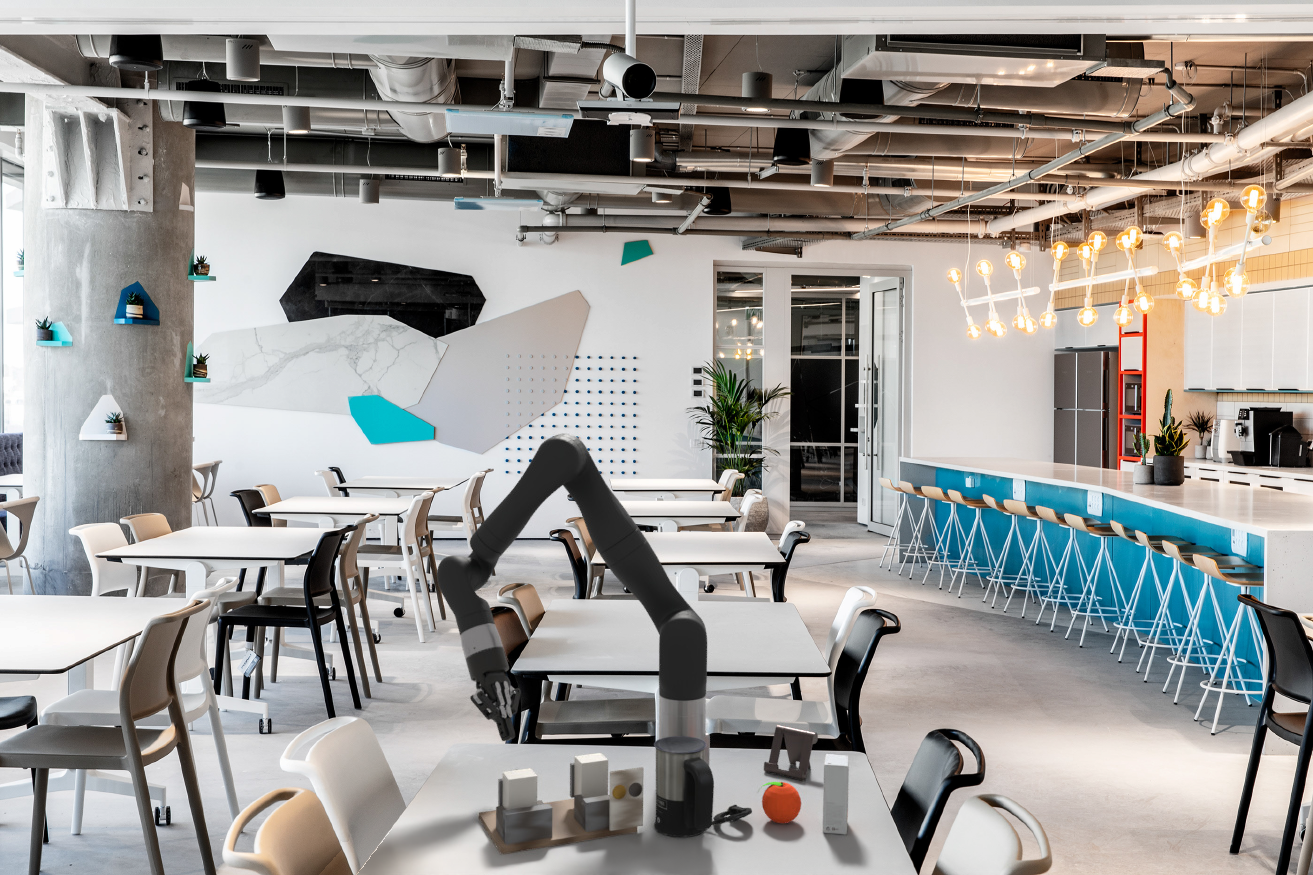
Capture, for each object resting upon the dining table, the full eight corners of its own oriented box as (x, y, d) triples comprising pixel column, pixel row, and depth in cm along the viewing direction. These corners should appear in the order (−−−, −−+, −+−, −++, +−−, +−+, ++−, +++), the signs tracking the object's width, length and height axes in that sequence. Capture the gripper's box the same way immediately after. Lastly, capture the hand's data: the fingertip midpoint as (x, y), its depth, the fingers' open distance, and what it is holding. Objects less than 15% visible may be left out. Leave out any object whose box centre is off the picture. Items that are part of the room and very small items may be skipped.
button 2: (600, 799, 188) (601, 750, 188) (610, 809, 184) (610, 759, 183) (569, 803, 186) (570, 754, 186) (578, 813, 181) (578, 763, 181)
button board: (610, 798, 192) (610, 740, 192) (643, 831, 177) (643, 768, 177) (478, 817, 182) (478, 756, 182) (501, 854, 167) (502, 788, 167)
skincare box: (847, 835, 176) (848, 766, 176) (822, 833, 177) (823, 764, 177) (848, 821, 182) (849, 754, 182) (823, 819, 183) (824, 752, 183)
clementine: (751, 825, 181) (751, 785, 180) (761, 810, 187) (762, 772, 187) (795, 832, 178) (796, 791, 177) (805, 817, 184) (805, 778, 184)
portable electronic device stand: (762, 772, 207) (763, 731, 207) (781, 761, 213) (781, 722, 213) (802, 782, 202) (802, 740, 201) (819, 770, 208) (820, 729, 208)
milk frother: (642, 827, 179) (642, 743, 179) (701, 802, 191) (702, 723, 190) (703, 851, 169) (704, 763, 169) (762, 824, 181) (763, 741, 180)
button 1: (531, 816, 180) (531, 765, 180) (539, 827, 175) (540, 775, 175) (498, 821, 178) (498, 770, 177) (505, 832, 173) (505, 779, 173)
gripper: (475, 645, 192) (501, 735, 186) (519, 644, 204) (545, 729, 197) (447, 660, 195) (471, 749, 189) (491, 658, 207) (516, 742, 200)
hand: (509, 739), depth 193 cm, fingers closed
